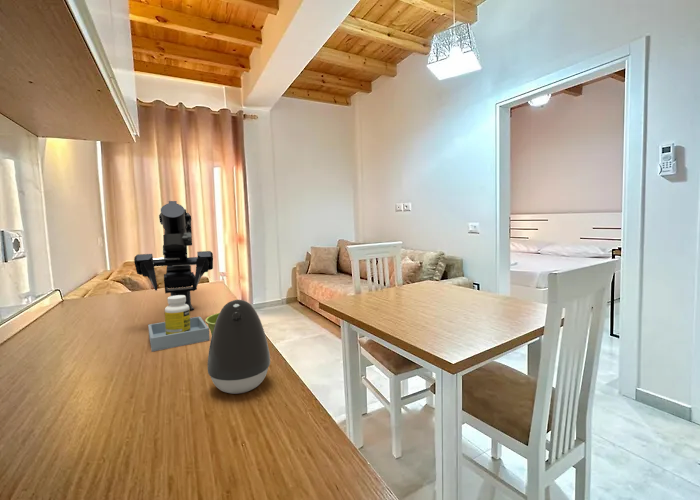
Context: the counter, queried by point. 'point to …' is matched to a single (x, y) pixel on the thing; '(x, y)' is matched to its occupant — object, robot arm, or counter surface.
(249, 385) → the dark grey egg-shaped device
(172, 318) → the supplement bottle
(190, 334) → the tray
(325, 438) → the counter surface
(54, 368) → the counter surface
